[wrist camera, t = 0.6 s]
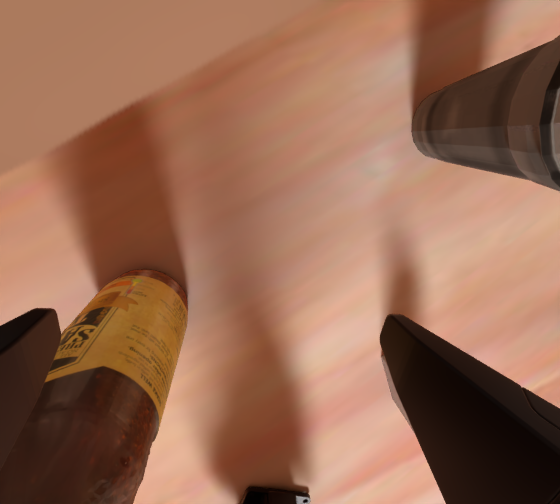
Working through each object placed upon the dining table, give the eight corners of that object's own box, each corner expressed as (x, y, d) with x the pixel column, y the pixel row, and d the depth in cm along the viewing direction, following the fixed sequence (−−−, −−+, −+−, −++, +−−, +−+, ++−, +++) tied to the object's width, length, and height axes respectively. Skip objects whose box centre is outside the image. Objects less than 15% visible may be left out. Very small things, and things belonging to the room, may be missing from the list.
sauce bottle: (128, 248, 22) (-396, 762, 4) (207, 292, 24) (120, 787, 6) (84, 321, 24) (-485, 989, 5) (162, 357, 25) (-35, 951, 7)
